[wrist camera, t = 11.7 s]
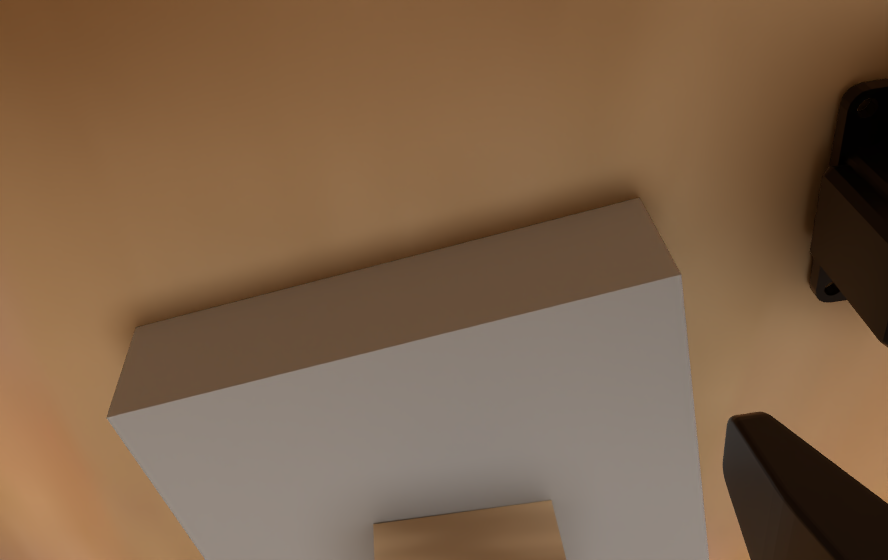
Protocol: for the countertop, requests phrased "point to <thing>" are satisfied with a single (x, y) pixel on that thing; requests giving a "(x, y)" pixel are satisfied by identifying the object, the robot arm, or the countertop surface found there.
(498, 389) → the grey riser
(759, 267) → the countertop surface
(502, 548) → the beech block
